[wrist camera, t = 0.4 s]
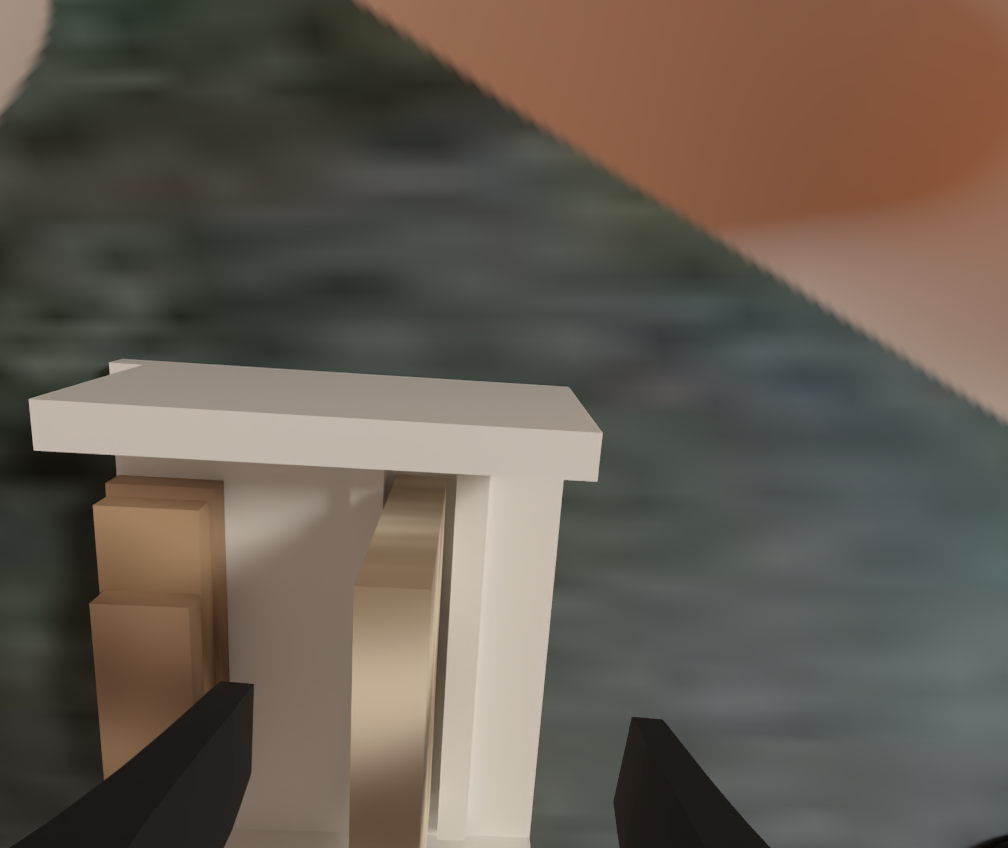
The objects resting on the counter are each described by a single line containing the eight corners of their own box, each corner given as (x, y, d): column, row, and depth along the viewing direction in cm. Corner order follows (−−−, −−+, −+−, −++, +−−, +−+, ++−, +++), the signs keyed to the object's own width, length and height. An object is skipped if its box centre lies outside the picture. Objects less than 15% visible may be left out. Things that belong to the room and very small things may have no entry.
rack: (525, 845, 25) (539, 1017, 20) (153, 835, 25) (53, 1011, 19) (568, 386, 21) (602, 432, 15) (122, 358, 21) (-18, 396, 15)
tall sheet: (431, 793, 24) (409, 1026, 17) (386, 791, 24) (345, 1025, 16) (447, 476, 21) (430, 589, 14) (396, 474, 21) (353, 585, 14)
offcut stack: (232, 776, 23) (205, 833, 21) (139, 773, 23) (101, 830, 21) (223, 480, 21) (191, 507, 18) (119, 474, 21) (73, 501, 18)
